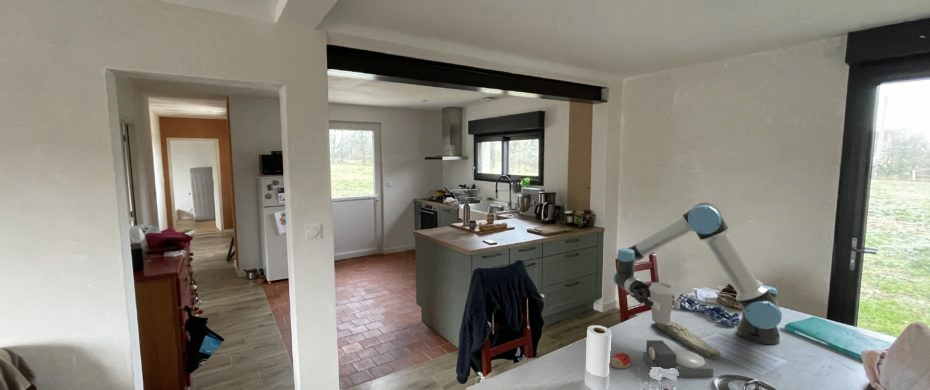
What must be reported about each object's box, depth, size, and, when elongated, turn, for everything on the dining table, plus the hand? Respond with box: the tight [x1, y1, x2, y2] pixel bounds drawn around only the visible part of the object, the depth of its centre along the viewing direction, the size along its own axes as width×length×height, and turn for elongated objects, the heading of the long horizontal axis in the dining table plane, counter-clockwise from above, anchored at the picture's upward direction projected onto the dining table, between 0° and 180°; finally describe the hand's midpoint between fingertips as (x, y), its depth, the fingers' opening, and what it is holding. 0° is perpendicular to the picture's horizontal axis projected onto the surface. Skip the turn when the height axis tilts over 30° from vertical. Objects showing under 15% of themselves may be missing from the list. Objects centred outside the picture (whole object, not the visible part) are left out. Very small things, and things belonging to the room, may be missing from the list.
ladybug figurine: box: [609, 352, 632, 370], centre depth 148 cm, size 7×10×4 cm
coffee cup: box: [648, 282, 676, 324], centre depth 158 cm, size 10×10×15 cm
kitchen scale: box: [642, 339, 714, 378], centre depth 144 cm, size 20×12×8 cm, turn 88°
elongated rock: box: [654, 320, 722, 360], centre depth 167 cm, size 35×5×10 cm
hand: (669, 306), depth 153 cm, fingers closed on coffee cup, 8 cm apart
